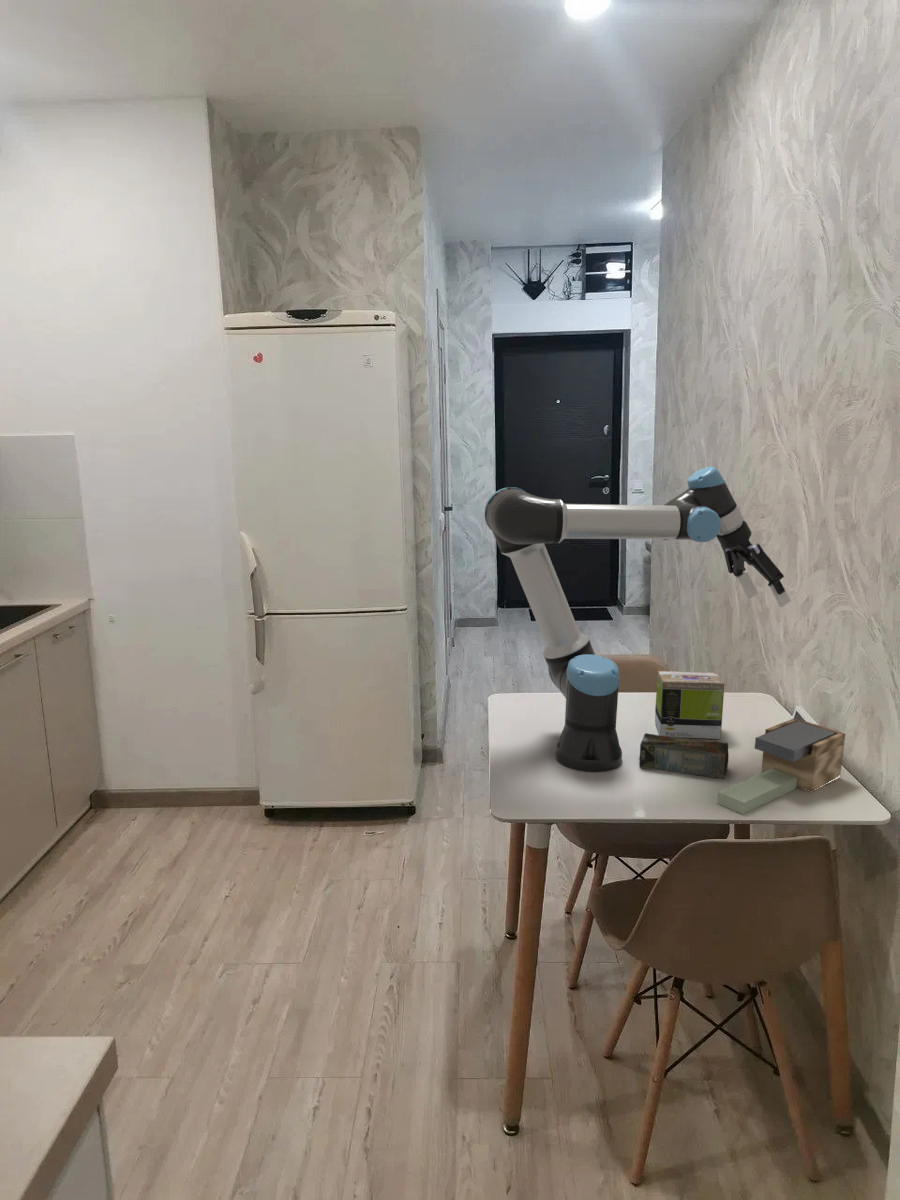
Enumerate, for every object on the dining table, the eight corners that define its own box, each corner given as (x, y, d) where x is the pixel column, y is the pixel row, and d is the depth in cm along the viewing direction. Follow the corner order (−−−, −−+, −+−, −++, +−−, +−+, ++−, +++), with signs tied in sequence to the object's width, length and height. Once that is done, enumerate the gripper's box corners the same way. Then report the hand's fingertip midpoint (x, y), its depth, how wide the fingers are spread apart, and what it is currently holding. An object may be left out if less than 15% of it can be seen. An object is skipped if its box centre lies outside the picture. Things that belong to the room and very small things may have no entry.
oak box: (811, 792, 183) (816, 746, 181) (761, 773, 193) (765, 729, 190) (839, 778, 191) (845, 733, 189) (789, 760, 200) (794, 718, 198)
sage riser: (742, 814, 173) (744, 802, 172) (717, 803, 177) (718, 792, 177) (796, 788, 185) (797, 777, 185) (770, 779, 190) (771, 768, 189)
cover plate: (793, 761, 179) (794, 750, 178) (754, 748, 186) (755, 737, 185) (834, 743, 189) (835, 732, 189) (796, 731, 196) (797, 721, 196)
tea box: (712, 726, 221) (717, 671, 218) (720, 740, 212) (726, 683, 208) (653, 723, 223) (657, 668, 220) (658, 737, 213) (662, 680, 210)
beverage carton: (642, 755, 202) (644, 729, 201) (727, 767, 196) (730, 740, 195) (638, 768, 195) (640, 741, 194) (726, 781, 189) (729, 753, 188)
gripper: (772, 521, 193) (812, 598, 199) (715, 515, 217) (752, 584, 223) (746, 540, 193) (787, 616, 198) (691, 532, 217) (729, 600, 222)
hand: (769, 599), depth 210 cm, fingers open, 13 cm apart
